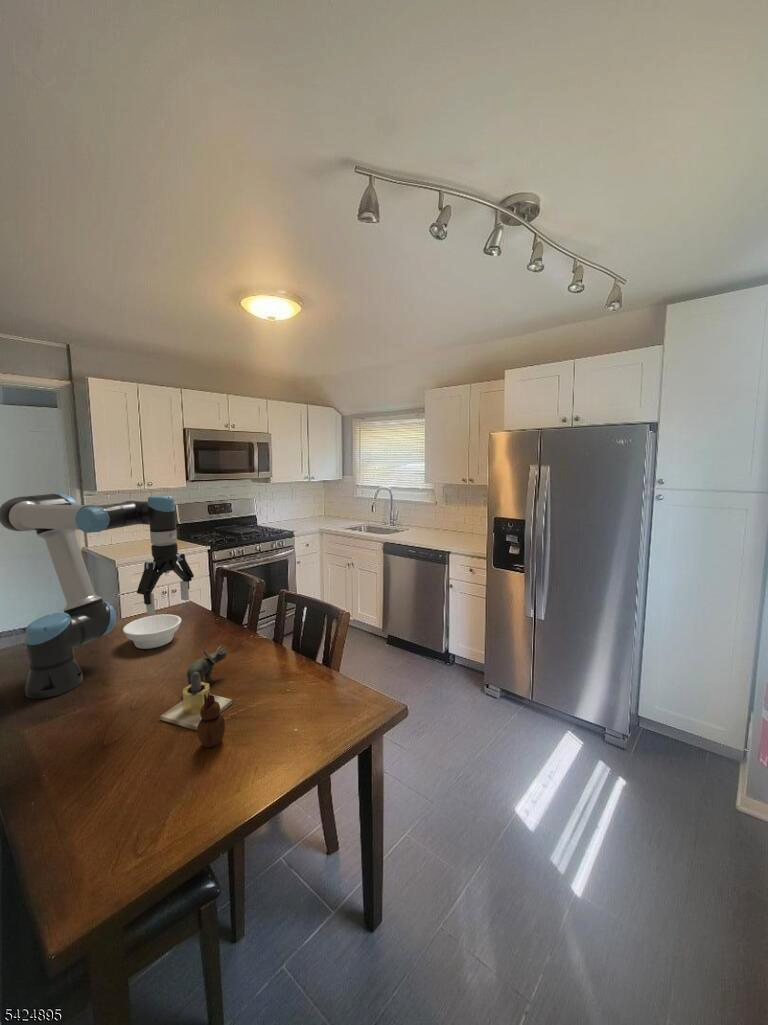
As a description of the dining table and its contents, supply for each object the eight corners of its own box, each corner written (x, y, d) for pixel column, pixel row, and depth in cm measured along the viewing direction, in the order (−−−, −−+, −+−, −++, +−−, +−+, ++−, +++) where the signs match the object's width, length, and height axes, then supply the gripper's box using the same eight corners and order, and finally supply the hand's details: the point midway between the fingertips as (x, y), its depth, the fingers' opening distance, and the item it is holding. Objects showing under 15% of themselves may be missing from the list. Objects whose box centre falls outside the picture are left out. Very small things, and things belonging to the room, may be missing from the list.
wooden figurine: (207, 754, 108) (204, 700, 106) (194, 746, 111) (190, 693, 109) (230, 739, 113) (227, 687, 111) (216, 732, 116) (213, 681, 114)
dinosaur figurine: (187, 709, 127) (185, 675, 126) (163, 705, 129) (161, 671, 128) (230, 673, 148) (228, 643, 147) (209, 670, 150) (207, 641, 149)
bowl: (166, 654, 162) (164, 634, 161) (112, 654, 162) (110, 634, 161) (191, 632, 183) (190, 614, 182) (143, 632, 183) (142, 614, 182)
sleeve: (178, 711, 124) (177, 692, 123) (197, 698, 130) (196, 680, 130) (197, 717, 121) (196, 697, 120) (215, 703, 128) (214, 685, 127)
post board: (160, 719, 122) (157, 679, 120) (197, 694, 135) (195, 657, 133) (198, 730, 117) (195, 688, 115) (232, 703, 130) (230, 665, 128)
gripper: (138, 552, 123) (143, 621, 126) (202, 537, 146) (205, 595, 149) (119, 550, 126) (125, 618, 128) (185, 535, 149) (189, 593, 152)
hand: (168, 606), depth 139 cm, fingers open, 13 cm apart
